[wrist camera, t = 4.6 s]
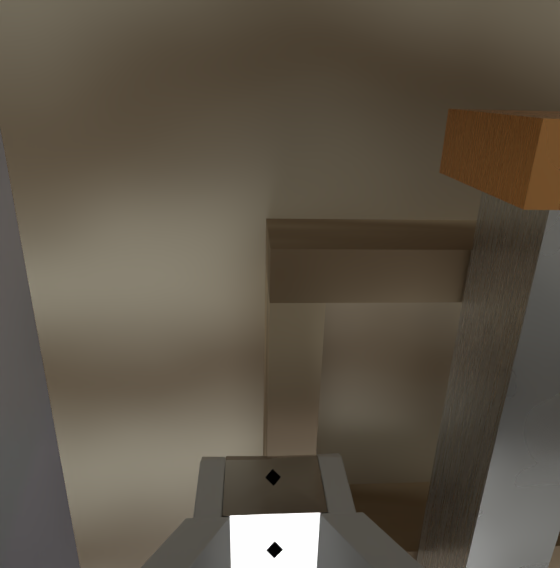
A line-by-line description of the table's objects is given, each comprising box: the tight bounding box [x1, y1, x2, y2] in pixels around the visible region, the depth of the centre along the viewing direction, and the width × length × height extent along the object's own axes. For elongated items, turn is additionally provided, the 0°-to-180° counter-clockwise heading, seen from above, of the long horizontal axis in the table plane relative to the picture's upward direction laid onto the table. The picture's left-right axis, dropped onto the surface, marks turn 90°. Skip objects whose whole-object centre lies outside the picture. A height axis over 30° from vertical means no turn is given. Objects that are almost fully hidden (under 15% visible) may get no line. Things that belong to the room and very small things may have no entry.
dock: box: [0, 0, 560, 568], centre depth 14 cm, size 20×22×4 cm
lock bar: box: [416, 109, 560, 568], centre depth 11 cm, size 14×3×3 cm, turn 179°
